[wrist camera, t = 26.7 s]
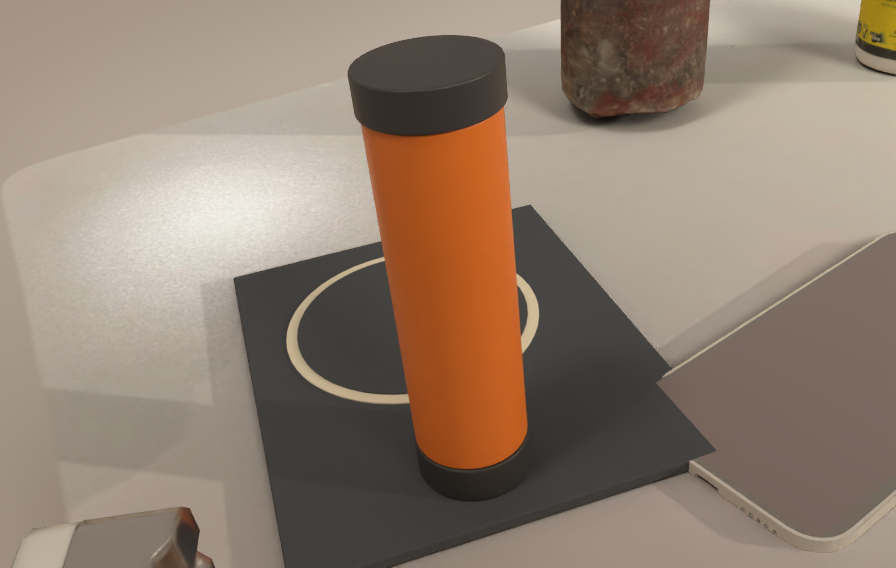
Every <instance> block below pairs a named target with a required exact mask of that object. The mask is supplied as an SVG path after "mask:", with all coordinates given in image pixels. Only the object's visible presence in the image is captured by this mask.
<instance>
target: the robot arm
mask: <svg viewBox="0 0 896 568" xmlns="http://www.w3.org/2000/svg"><path fill="white" fill-rule="evenodd" d="M199 532H200V530H199V527H198V525H197V523H196V521H195V519H194V517H193V515H192V512H191V510H190V508H186V507H175V508H168V509H161V510H154V511H147V512H140V513H133V514H126V515H119V516H112V517H105V518H98V519H91V520H84V521H83V522H77V523H69V524H62V525H55V526H48V527H42V528H34V529H32V530H31V531H30V532H29V534H28V535H27V536H26V537H25V538H24V539H23V540H22V542H21V543H20V545H19V548H18V550H17V553H16V556H15V558H14V561H13V564H12V566H11V568H215V566H214V564H213V561H212V559H211V558H209V557H207V556H205V555H204V554H202V553H200V552H198V551H197V545H198V538H199Z"/></svg>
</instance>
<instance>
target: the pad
mask: <svg viewBox="0 0 896 568" xmlns="http://www.w3.org/2000/svg"><path fill="white" fill-rule="evenodd" d="M511 210H512V223H513V237H514V250H515V264H516V277H517V291H518V304H519V318H520V331H521V345H522V358H523V371H524V385H525V398H526V412H527V419H528V422H529V428H530V442H531V456H532V457H531V463H530V467H529V469H528V471H527V473H526V475H525V476H524V478H523V479H522V480H521V481H520V482H519V483H518V484H517V485H516V486H515V487H514V488H512V489H511V490H509V491H508V492H506V493H504V494H502V495H500V496H497V497H494V498H491V499H487V500H481V501H461V500H455V499H452V498H448V497H446V496H443V495H441V494H440V493H438V492H436V491H435V490H434V489H432V488H431V487H430V486H429V485H428V484H427V483H426V481H425V480H424V479H423V477H422V475H421V473H420V469H419V464H418V458H417V453H416V447H415V440H414V434H415V431H414V425H413V420H412V414H411V408H410V402H409V397H408V391H407V385H406V379H405V374H404V368H403V362H402V357H401V351H400V345H399V339H398V334H397V328H396V322H395V316H394V311H393V305H392V299H391V293H390V288H389V282H388V276H387V270H386V265H385V259H384V253H383V248H382V242H377V243H373V244H369V245H365V246H361V247H357V248H353V249H349V250H345V251H341V252H337V253H333V254H328V255H324V256H320V257H316V258H312V259H308V260H304V261H300V262H296V263H292V264H288V265H284V266H280V267H276V268H272V269H268V270H264V271H260V272H256V273H252V274H247V275H243V276H239V277H235V278H234V284H235V289H236V295H237V300H238V306H239V312H240V317H241V323H242V328H243V334H244V340H245V345H246V351H247V356H248V362H249V368H250V373H251V379H252V384H253V390H254V396H255V401H256V407H257V412H258V418H259V424H260V429H261V435H262V440H263V446H264V452H265V457H266V463H267V468H268V474H269V480H270V485H271V491H272V496H273V502H274V508H275V513H276V519H277V525H278V530H279V536H280V541H281V547H282V553H283V558H284V564H285V568H387V567H390V566H393V565H396V564H399V563H402V562H406V561H409V560H412V559H415V558H418V557H421V556H424V555H427V554H430V553H434V552H437V551H440V550H443V549H446V548H449V547H452V546H455V545H458V544H462V543H465V542H468V541H471V540H474V539H477V538H480V537H483V536H486V535H490V534H493V533H496V532H499V531H502V530H505V529H508V528H511V527H514V526H517V525H521V524H524V523H527V522H530V521H533V520H536V519H539V518H542V517H545V516H549V515H552V514H555V513H558V512H561V511H564V510H567V509H570V508H573V507H577V506H580V505H583V504H586V503H589V502H592V501H595V500H598V499H601V498H605V497H608V496H611V495H614V494H617V493H620V492H623V491H626V490H629V489H632V488H636V487H639V486H642V485H645V484H648V483H651V482H654V481H657V480H660V479H664V478H667V477H670V476H673V475H676V474H679V473H682V472H685V471H688V470H689V461H691V460H693V459H696V458H699V457H701V456H704V455H707V454H710V453H712V452H715V451H717V450H716V449H715V448H714V447H713V446H712V445H711V444H710V442H709V441H708V440H707V439H706V438H705V437H704V436H703V435H702V434H701V432H700V431H699V430H698V429H697V428H696V427H695V426H694V425H693V424H692V422H691V421H690V420H689V419H688V418H687V417H686V416H685V415H684V414H683V412H682V411H681V410H680V409H679V408H678V407H677V406H676V405H675V404H674V402H673V401H672V400H671V399H670V398H669V397H668V396H667V395H666V393H665V392H664V391H663V390H662V389H661V388H660V387H659V386H658V385H657V382H658V381H660V380H661V379H663V378H664V377H663V376H664V375H665V374H666V373H667V372H669V371H670V370H672V368H671V367H670V366H669V365H668V364H667V363H666V361H665V360H664V359H663V358H662V357H661V356H660V355H659V353H658V352H657V351H656V350H655V349H654V348H653V346H652V345H651V344H650V343H649V342H648V341H647V339H646V338H645V337H644V336H643V335H642V334H641V332H640V331H639V330H638V329H637V328H636V327H635V326H634V324H633V323H632V322H631V321H630V320H629V319H628V317H627V316H626V315H625V314H624V313H623V312H622V310H621V309H620V308H619V307H618V306H617V305H616V304H615V302H614V301H613V300H612V299H611V298H610V297H609V295H608V294H607V293H606V292H605V291H604V290H603V288H602V287H601V286H600V285H599V284H598V283H597V281H596V280H595V279H594V278H593V277H592V276H591V275H590V273H589V272H588V271H587V270H586V269H585V268H584V266H583V265H582V264H581V263H580V262H579V261H578V259H577V258H576V257H575V256H574V255H573V254H572V252H571V251H570V250H569V249H568V248H567V247H566V246H565V244H564V243H563V242H562V241H561V240H560V239H559V237H558V236H557V235H556V234H555V233H554V232H553V230H552V229H551V228H550V227H549V226H548V225H547V224H546V222H545V221H544V220H543V219H542V218H541V217H540V215H539V214H538V213H537V212H536V211H535V210H534V208H533V207H532V206H531V205H527V206H523V207H519V208H515V209H511ZM667 376H668V375H667ZM662 377H663V378H662ZM665 377H666V376H665Z"/></svg>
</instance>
